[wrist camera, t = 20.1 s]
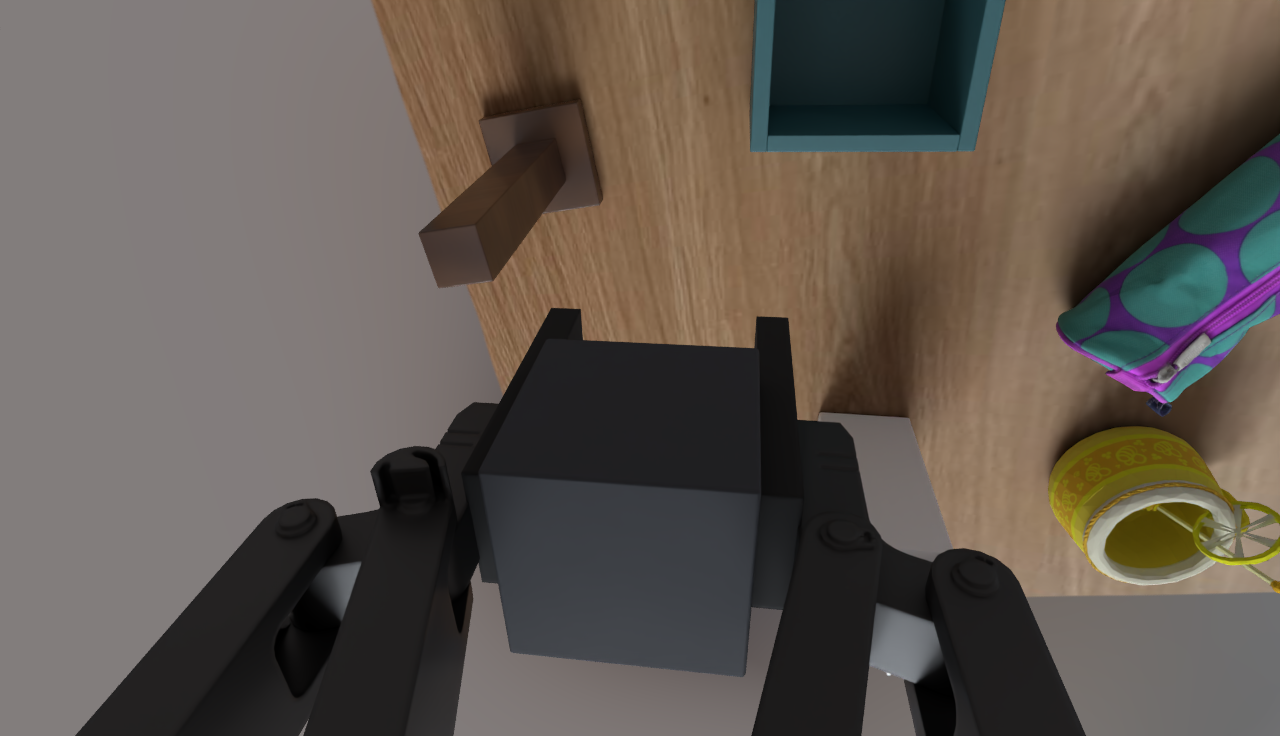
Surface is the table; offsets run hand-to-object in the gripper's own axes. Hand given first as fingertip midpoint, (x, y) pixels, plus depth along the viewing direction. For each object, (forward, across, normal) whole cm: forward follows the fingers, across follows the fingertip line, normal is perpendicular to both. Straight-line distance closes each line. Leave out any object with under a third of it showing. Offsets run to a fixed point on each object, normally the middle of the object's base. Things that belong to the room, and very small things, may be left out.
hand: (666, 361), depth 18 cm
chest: (+33, +8, +7) cm, 35 cm away
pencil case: (+34, +32, -8) cm, 48 cm away
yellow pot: (+34, +34, -28) cm, 56 cm away
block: (-3, 0, 0) cm, 3 cm away
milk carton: (+34, +12, -27) cm, 45 cm away
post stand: (+33, -12, -4) cm, 36 cm away
